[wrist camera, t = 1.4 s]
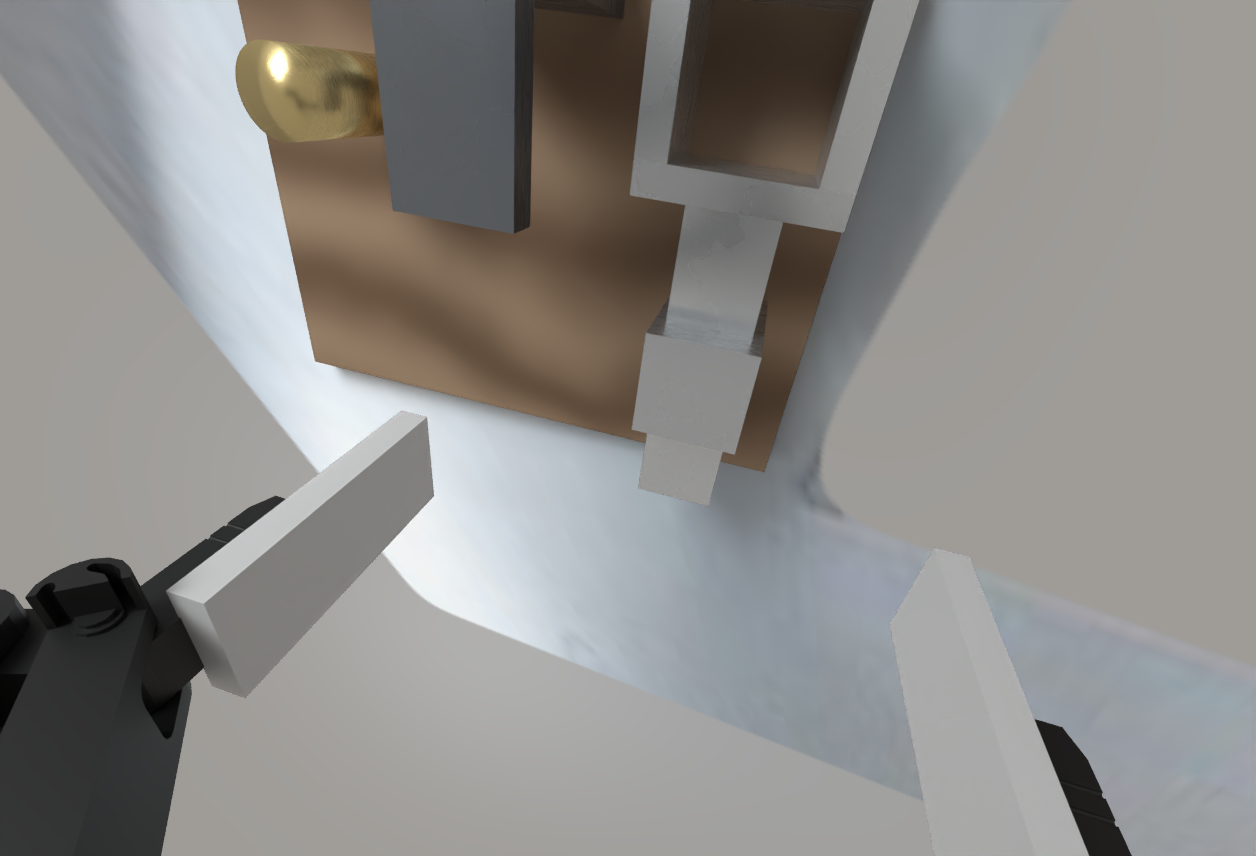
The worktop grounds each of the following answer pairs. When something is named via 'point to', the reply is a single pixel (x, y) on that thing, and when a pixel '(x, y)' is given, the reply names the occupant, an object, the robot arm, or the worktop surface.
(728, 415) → the link
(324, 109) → the brass rounded cylinder
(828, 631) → the worktop surface
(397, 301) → the board
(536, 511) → the worktop surface
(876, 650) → the worktop surface
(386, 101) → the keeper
